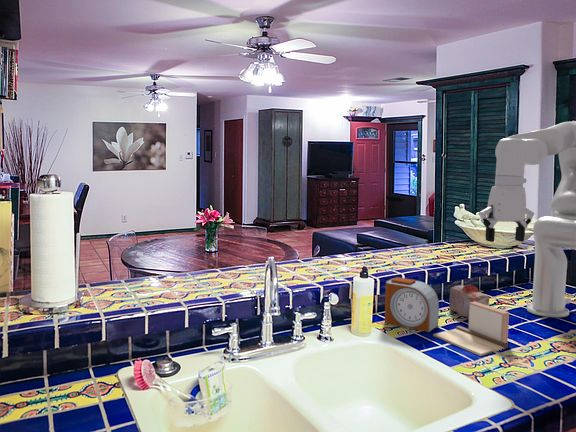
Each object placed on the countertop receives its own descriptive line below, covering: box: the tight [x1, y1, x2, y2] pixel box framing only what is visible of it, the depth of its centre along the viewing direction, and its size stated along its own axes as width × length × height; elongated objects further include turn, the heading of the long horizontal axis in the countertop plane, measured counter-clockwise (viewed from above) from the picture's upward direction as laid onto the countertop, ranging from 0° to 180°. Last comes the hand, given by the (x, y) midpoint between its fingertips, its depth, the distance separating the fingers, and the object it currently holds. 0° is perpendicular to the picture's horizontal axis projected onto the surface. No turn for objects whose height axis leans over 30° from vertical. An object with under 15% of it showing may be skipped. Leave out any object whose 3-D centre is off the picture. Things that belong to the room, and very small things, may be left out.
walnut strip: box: [455, 325, 509, 350], centre depth 155 cm, size 1×17×1 cm, turn 30°
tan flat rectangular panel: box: [432, 328, 505, 357], centre depth 152 cm, size 9×17×1 cm, turn 30°
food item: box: [448, 284, 490, 319], centre depth 175 cm, size 14×8×10 cm, turn 20°
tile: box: [467, 301, 510, 344], centre depth 155 cm, size 2×12×9 cm, turn 30°
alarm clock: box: [384, 276, 440, 333], centre depth 167 cm, size 15×8×14 cm, turn 55°
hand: (504, 241), depth 158 cm, fingers open, 9 cm apart
